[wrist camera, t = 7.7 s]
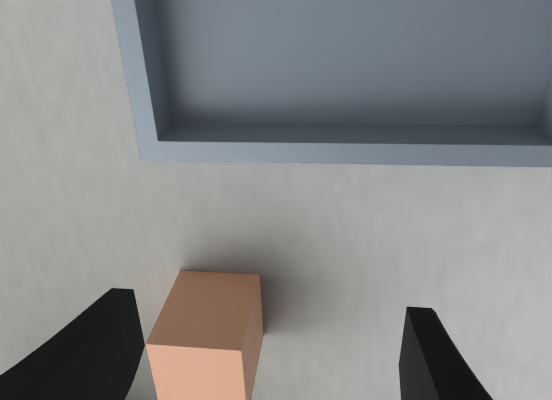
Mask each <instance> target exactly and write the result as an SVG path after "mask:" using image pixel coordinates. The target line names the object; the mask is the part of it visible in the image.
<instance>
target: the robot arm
mask: <svg viewBox="0 0 552 400" xmlns="http://www.w3.org/2000/svg"><path fill="white" fill-rule="evenodd" d="M144 346H145V343H144V339H143V334H142V329H141V324H140V319H139V314H138V309H137V304H136V299H135V295H134V290H133V289H119V288H111V289H110V290H109V291H108V292H106V293H105V294H104V295H103V296H101V297H100V298H99V299H98V300H97V301H95V302H94V303H93V304H92V305H91V306H90V307H88V308H87V309H86V310H85V311H84V312H82V313H81V314H80V315H79V316H78V317H76V318H75V319H74V320H73V321H72V322H70V323H69V324H68V325H67V326H65V327H64V328H63V329H62V330H61V331H59V332H58V333H57V334H56V335H54V336H53V337H52V338H51V339H49V340H48V341H47V342H45V343H44V344H43V345H41V346H40V347H39V348H37V349H36V350H35V351H33V352H32V353H31V354H30V355H28V356H27V357H26V358H24V359H23V360H22V361H20V362H19V363H18V364H16V365H15V366H13V367H12V368H10V369H9V370H8V371H6V372H5V373H3V374H2V375H0V400H125V398H126V396H127V393H128V391H129V389H130V387H131V385H132V383H133V380H134V377H135V374H136V371H137V369H138V366H139V362H140V359H141V356H142V353H143V349H144ZM399 374H400V389H401V400H493V399H492V398H491V396H490V395H489V394H488V393H487V391H486V390H485V389H484V387H483V386H482V384H481V383H480V382H479V380H478V379H477V378H476V376H475V375H474V373H473V372H472V370H471V369H470V367H469V366H468V365H467V363H466V362H465V360H464V359H463V357H462V356H461V354H460V353H459V351H458V350H457V348H456V346H455V345H454V343H453V342H452V340H451V338H450V337H449V335H448V333H447V332H446V330H445V328H444V327H443V325H442V323H441V321H440V319H439V318H438V316H437V314H436V312H435V311H434V310H433V309H432V308H421V307H407V310H406V317H405V324H404V331H403V339H402V346H401V353H400V360H399Z"/></svg>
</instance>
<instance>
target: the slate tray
mask: <svg viewBox="0 0 552 400" xmlns="http://www.w3.org/2000/svg"><path fill="white" fill-rule="evenodd" d="M111 4H112V9H113V15H114V20H115V25H116V31H117V36H118V41H119V47H120V52H121V57H122V63H123V68H124V73H125V78H126V84H127V89H128V94H129V100H130V105H131V110H132V116H133V121H134V126H135V132H136V137H137V142H138V148H139V153H140V158H141V161H195V162H258V163H321V164H383V165H446V166H509V167H552V0H111Z"/></svg>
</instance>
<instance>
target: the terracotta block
mask: <svg viewBox="0 0 552 400" xmlns="http://www.w3.org/2000/svg"><path fill="white" fill-rule="evenodd" d="M262 340H263V318H262V301H261V284H260V274H243V273H224V272H204V271H184V270H180V272H179V274H178V276H177V278H176V280H175V283H174V285H173V287H172V289H171V291H170V293H169V295H168V298H167V300H166V302H165V304H164V306H163V308H162V310H161V313H160V315H159V317H158V319H157V321H156V323H155V325H154V328H153V330H152V332H151V334H150V336H149V338H148V340H147V342H146V348H147V352H148V357H149V361H150V366H151V371H152V375H153V380H154V384H155V389H156V393H157V398H158V400H251V395H252V390H253V385H254V380H255V375H256V370H257V365H258V360H259V355H260V350H261V345H262Z"/></svg>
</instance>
